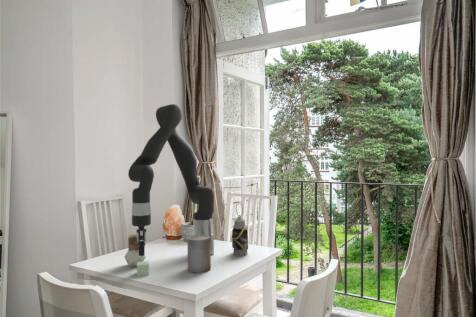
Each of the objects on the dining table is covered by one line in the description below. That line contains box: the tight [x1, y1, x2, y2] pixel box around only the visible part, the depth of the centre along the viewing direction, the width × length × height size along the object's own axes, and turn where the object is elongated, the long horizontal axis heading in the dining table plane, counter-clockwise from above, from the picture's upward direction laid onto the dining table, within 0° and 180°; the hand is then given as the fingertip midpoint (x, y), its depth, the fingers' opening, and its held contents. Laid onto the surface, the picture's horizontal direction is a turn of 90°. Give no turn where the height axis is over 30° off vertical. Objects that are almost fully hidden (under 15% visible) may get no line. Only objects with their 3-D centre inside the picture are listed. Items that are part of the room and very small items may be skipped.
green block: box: [136, 260, 150, 277], centre depth 144 cm, size 4×4×4 cm
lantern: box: [231, 202, 249, 256], centre depth 171 cm, size 9×8×25 cm
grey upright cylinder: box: [186, 234, 212, 274], centre depth 149 cm, size 10×10×15 cm
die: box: [123, 250, 146, 268], centre depth 156 cm, size 8×9×10 cm
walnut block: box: [127, 234, 139, 251], centre depth 156 cm, size 6×6×6 cm
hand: (141, 253), depth 144 cm, fingers open, 8 cm apart
